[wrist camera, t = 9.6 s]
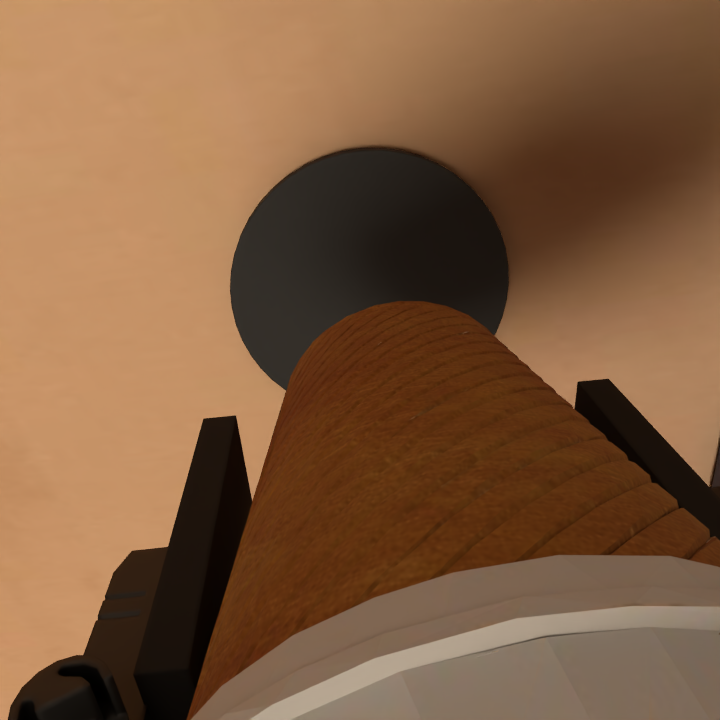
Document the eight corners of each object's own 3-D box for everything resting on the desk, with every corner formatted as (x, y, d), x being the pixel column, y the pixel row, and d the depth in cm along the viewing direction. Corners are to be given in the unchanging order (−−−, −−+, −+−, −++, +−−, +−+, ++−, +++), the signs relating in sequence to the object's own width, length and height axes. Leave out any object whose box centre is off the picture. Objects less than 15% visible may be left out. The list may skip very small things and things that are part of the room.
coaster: (208, 160, 22) (206, 162, 21) (511, 135, 22) (516, 137, 21) (253, 418, 27) (252, 426, 26) (499, 394, 27) (502, 401, 27)
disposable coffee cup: (190, 256, 14) (-167, 897, 3) (590, 217, 14) (1398, 685, 4) (253, 557, 18) (183, 1250, 8) (559, 521, 19) (893, 1135, 8)
